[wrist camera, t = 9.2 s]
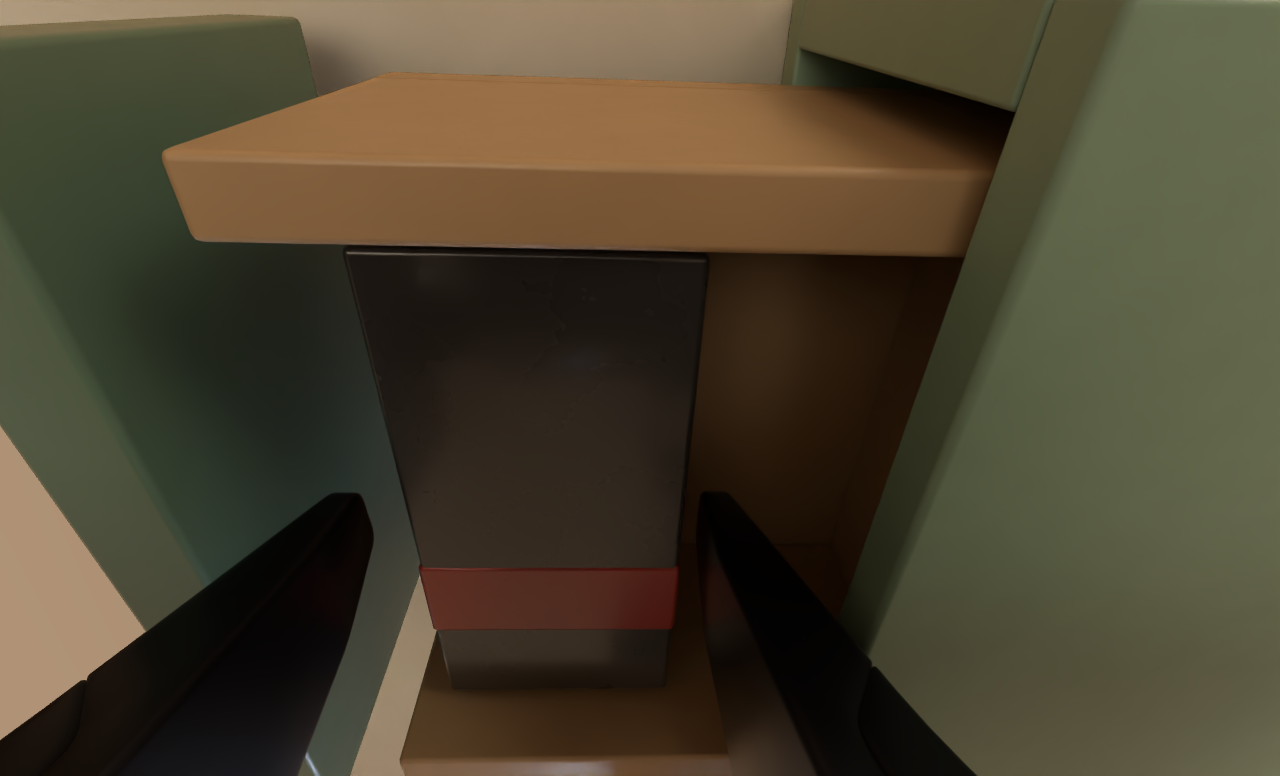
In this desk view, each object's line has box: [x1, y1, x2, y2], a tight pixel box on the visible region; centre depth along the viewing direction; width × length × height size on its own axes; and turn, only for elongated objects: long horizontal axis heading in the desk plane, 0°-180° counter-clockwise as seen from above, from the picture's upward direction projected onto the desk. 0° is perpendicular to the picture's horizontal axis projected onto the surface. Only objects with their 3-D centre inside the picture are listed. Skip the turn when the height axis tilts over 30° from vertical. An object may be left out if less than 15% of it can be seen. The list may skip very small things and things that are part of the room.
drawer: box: [0, 15, 1016, 776], centre depth 10 cm, size 16×12×6 cm
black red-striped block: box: [343, 245, 710, 690], centre depth 10 cm, size 4×8×4 cm, turn 178°
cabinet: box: [781, 0, 1280, 776], centre depth 11 cm, size 14×14×8 cm
